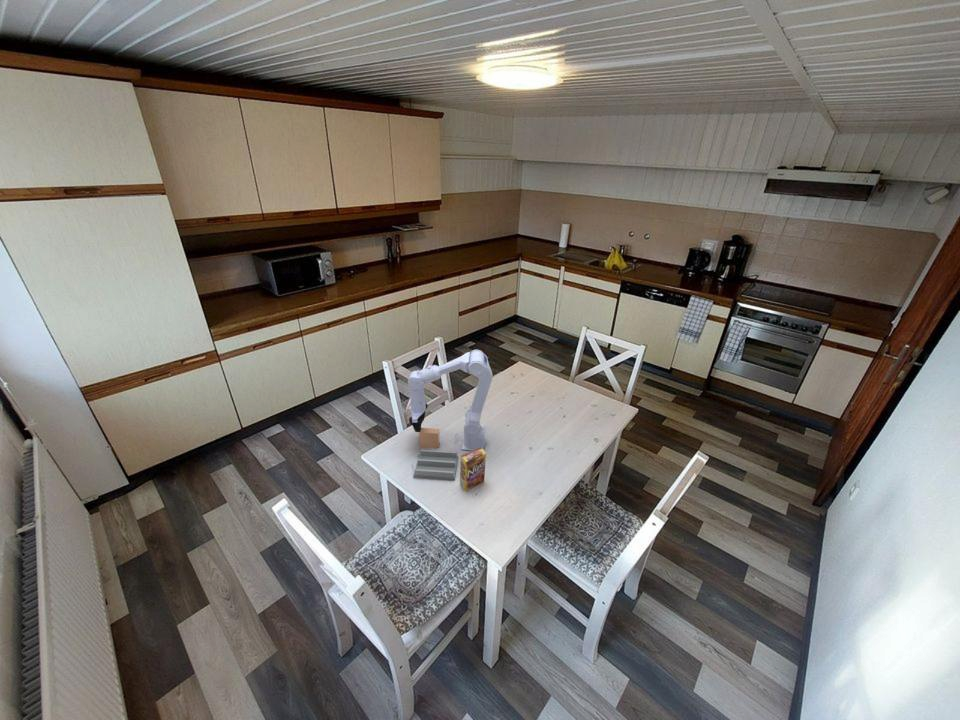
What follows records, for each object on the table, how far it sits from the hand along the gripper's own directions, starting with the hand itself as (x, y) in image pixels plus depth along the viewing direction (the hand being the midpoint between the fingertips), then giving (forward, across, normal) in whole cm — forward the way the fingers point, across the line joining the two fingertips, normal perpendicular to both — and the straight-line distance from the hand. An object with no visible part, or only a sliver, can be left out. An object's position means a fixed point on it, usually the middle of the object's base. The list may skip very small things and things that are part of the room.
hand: (419, 425), depth 163 cm
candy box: (+10, +21, +24) cm, 33 cm away
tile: (+10, +1, +4) cm, 10 cm away
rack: (+10, +14, +9) cm, 19 cm away
